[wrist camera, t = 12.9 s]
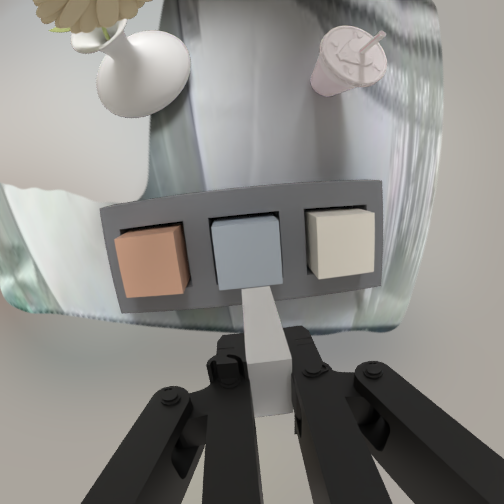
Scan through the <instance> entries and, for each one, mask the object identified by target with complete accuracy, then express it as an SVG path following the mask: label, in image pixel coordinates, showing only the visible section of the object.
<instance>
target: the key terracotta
mask: <svg viewBox="0 0 504 504" xmlns="http://www.w3.org/2000/svg"><path fill="white" fill-rule="evenodd" d="M114 242H115V247H116V252H117V257H118V262H119V267H120V272H121V276H122V281H123V285H124V289H125V293H126V297H127V298H132V297H147V296H160V295H173V294H183V293H184V291H185V288H186V286H187V284H188V281H189V279H190V270H189V263H188V257H187V250H186V243H185V236H184V229H183V223H179V224H171V225H163V226H155V227H148V228H140V229H133V230H130V231H128V232H126V233H124V234H123V235H121V236H119V237H117V238H116V239H114Z"/></svg>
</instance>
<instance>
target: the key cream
mask: <svg viewBox="0 0 504 504" xmlns="http://www.w3.org/2000/svg"><path fill="white" fill-rule="evenodd" d="M304 222H305V240H306V263H307V265H308V267H309V268H310V269H311V270H312V272H313V273H314V274H315V276H316V277H317V278H318V279H325V278H333V277H340V276H348V275H355V274H362V273H369V272H374V251H375V213H373V212H370V211H366V210H363V209H359V208H356V207H350V208H335V209H321V210H308V211H304Z"/></svg>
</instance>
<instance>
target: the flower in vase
mask: <svg viewBox="0 0 504 504" xmlns="http://www.w3.org/2000/svg"><path fill="white" fill-rule="evenodd" d="M33 1H34V4H35V5H36V6H39V7H38V8H37V11H36V15H37V16H38V17H39V18H41V21H42V23H44V24H49V23H51V22H53V21H55V26H56V27H55V28H53V29H51V30H49V31H51V32H68V31H71V32H72V35H71V45H72V47H73V49H74V50H75V51H77V52H79V53H83V54H87V53H88V54H89V53H94V52H97V51H101V52H104V53H105V54H106V56H105V57H104V59H103V60H102V62H101V65H100V67H99V70H98V73H97V80H96V86H97V91H98V95H99V98H100V100H101V102H102V104H103V105H104V106H105V107H106V108H107V109H108V110H109V111H110V112H112V113H113V114H115V115H118V116H121V117H125V118H139V117H144V116H148V115H151V114H153V113H156V112H158V111H159V110H161V109H163V108H164V107H166V106H167V105H169V104H170V103H171V102H172V101H173V100H174V99H175V98H176V97H177V96H178V95H179V94H180V92H181V91H182V90H183V88H184V86H185V84H186V82H187V80H188V77H189V74H190V68H191V59H190V54H189V52H188V49H187V48H186V46H185V44H184V43H183V42H182V41H181V40H180V39H179V38H177V37H176V36H174V35H172V34H169V33H167V32H163V31H158V30H148V31H142V32H138V33H135V34H132V35H130V36H128V37H126V35H125V33H124V28H125V26H126V24H127V20H128V19H131V18H133V17H135V16H136V15H137V12H138V8H141V7H142V6H143V5H144V3H145V2H149V1H152V0H33Z"/></svg>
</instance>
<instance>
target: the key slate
mask: <svg viewBox="0 0 504 504" xmlns="http://www.w3.org/2000/svg"><path fill="white" fill-rule="evenodd" d="M211 230H212V238H213V246H214V254H215V261H216V269H217V276H218V284H219V290H228V289H238V288H248V287H258V286H267V285H276V284H283V278H282V262H281V247H280V233H279V221H278V220H277V218H276V217H275V216H274V215H273V214H262V215H252V216H242V217H232V218H223V219H215V220H214V223H213V225H212V227H211Z"/></svg>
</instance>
